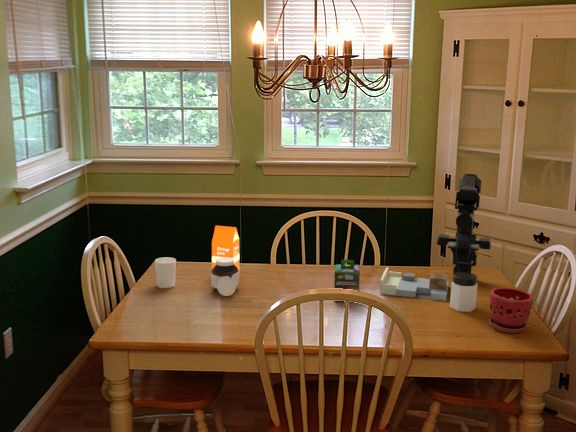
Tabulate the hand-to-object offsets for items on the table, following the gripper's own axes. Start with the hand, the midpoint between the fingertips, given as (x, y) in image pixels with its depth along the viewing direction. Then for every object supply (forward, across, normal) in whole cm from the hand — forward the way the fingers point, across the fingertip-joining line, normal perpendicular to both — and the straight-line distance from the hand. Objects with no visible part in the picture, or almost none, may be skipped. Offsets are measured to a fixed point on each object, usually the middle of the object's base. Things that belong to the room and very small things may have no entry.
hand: (461, 264), depth 248 cm
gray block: (+12, -19, +6) cm, 23 cm away
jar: (+12, +2, -13) cm, 18 cm away
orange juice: (+12, -90, -5) cm, 91 cm away
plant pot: (+12, +17, -27) cm, 34 cm away
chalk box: (+12, -40, -16) cm, 44 cm away
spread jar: (+12, -84, -23) cm, 88 cm away
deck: (+12, -16, 0) cm, 20 cm away
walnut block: (+10, -8, 0) cm, 12 cm away
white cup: (+12, -108, -24) cm, 111 cm away
